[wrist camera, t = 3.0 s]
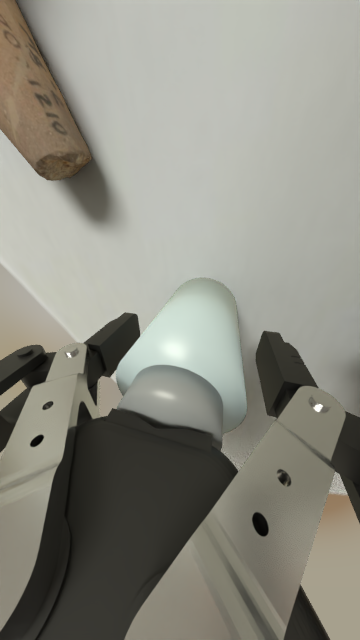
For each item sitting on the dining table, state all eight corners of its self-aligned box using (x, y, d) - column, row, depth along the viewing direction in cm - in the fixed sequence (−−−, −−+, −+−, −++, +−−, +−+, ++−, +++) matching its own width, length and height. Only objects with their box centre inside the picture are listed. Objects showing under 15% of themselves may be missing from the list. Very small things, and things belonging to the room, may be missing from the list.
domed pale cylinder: (171, 275, 12) (74, 359, 4) (242, 280, 11) (277, 403, 3) (172, 331, 15) (113, 444, 7) (230, 340, 14) (234, 485, 6)
